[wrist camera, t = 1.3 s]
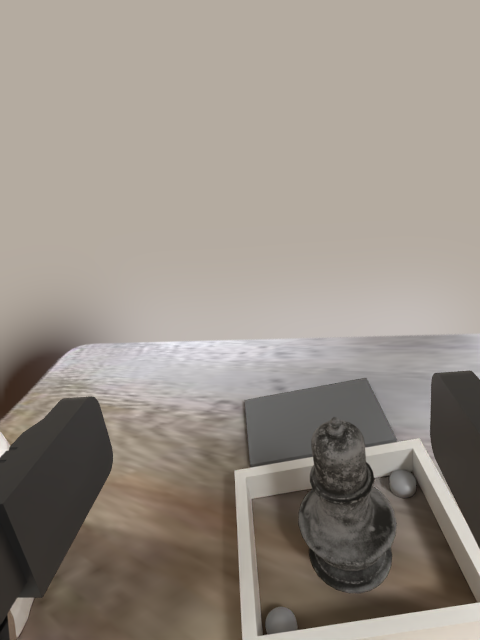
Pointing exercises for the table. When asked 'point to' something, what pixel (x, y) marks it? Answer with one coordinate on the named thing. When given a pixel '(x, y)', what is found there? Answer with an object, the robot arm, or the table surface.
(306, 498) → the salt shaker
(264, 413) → the rubber mat
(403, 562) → the table surface
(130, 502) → the table surface
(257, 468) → the frame
